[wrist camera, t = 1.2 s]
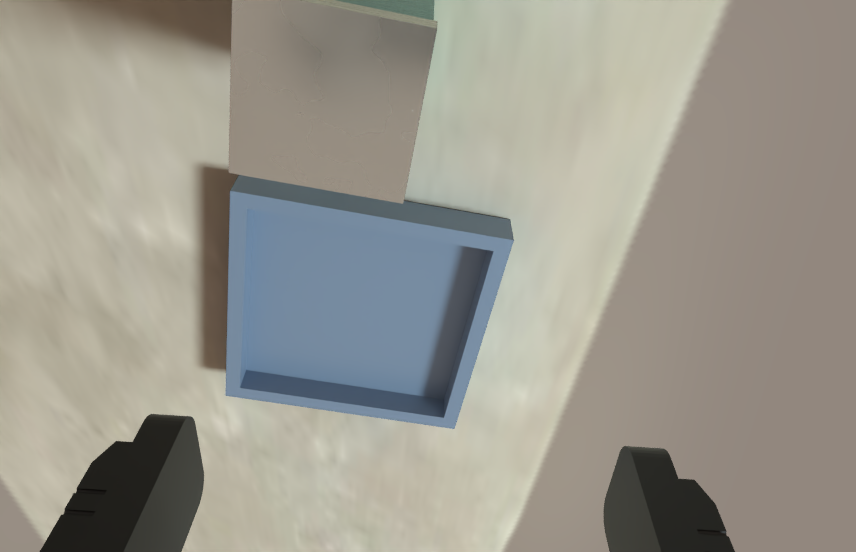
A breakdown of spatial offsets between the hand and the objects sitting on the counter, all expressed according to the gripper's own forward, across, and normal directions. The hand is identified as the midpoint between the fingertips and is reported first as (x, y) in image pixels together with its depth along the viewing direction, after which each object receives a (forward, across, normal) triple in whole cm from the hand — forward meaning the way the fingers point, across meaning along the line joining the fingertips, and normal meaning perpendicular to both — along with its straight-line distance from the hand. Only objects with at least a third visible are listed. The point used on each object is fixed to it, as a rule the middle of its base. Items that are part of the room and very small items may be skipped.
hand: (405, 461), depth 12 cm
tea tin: (+21, +3, -4) cm, 21 cm away
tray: (+21, +3, +12) cm, 25 cm away
